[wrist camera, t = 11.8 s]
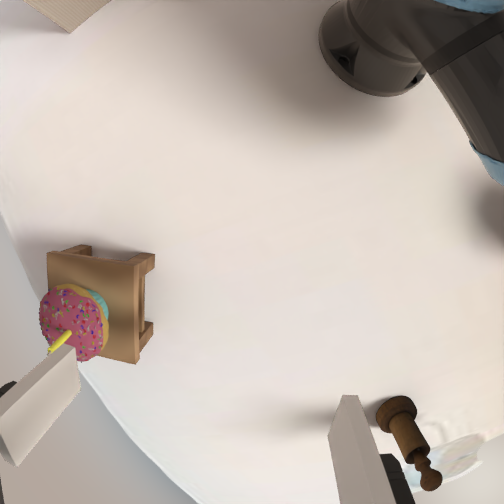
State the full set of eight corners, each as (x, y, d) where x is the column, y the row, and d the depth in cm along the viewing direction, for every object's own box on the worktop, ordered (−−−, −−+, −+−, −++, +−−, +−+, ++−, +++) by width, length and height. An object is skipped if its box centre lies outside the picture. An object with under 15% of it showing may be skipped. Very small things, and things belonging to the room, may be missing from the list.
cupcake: (111, 268, 32) (48, 304, 21) (132, 340, 34) (85, 398, 22) (54, 280, 33) (-12, 313, 21) (75, 344, 34) (21, 393, 23)
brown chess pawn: (377, 430, 45) (410, 508, 27) (373, 404, 44) (411, 485, 26) (413, 416, 44) (454, 488, 26) (411, 389, 43) (460, 463, 25)
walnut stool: (79, 242, 40) (46, 253, 32) (157, 252, 40) (134, 266, 32) (82, 321, 43) (54, 343, 35) (155, 336, 42) (135, 364, 35)
